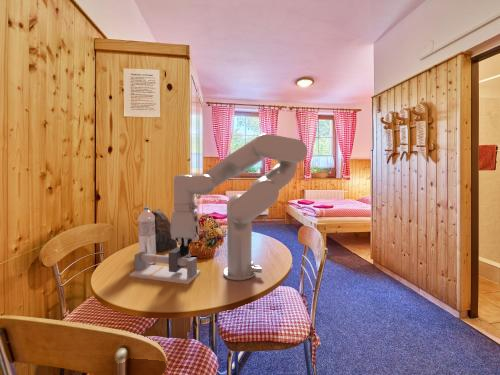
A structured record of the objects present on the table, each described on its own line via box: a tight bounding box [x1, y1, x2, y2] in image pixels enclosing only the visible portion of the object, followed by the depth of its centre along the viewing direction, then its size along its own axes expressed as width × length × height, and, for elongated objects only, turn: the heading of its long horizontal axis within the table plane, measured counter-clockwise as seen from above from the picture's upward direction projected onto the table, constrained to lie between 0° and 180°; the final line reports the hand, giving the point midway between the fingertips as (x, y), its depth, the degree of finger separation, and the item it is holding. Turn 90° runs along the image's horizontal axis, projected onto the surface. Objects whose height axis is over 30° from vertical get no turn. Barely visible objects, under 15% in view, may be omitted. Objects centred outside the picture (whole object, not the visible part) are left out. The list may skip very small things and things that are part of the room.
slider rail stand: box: [129, 252, 201, 285], centre depth 98 cm, size 25×10×8 cm, turn 76°
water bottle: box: [137, 206, 157, 265], centre depth 108 cm, size 7×7×25 cm
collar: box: [167, 246, 185, 272], centre depth 96 cm, size 3×6×8 cm, turn 165°
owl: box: [151, 208, 178, 254], centre depth 129 cm, size 13×13×20 cm
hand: (184, 254), depth 95 cm, fingers closed
